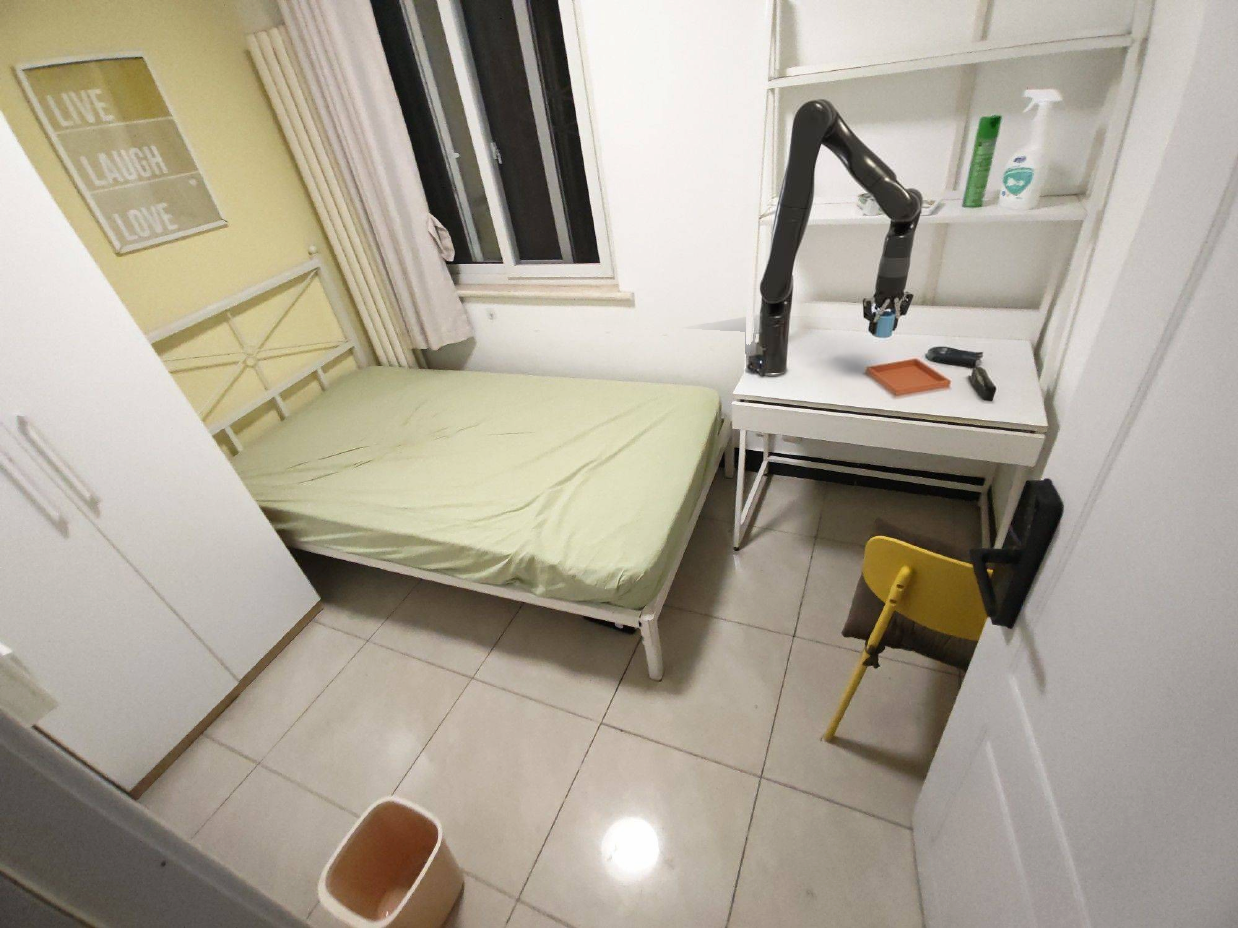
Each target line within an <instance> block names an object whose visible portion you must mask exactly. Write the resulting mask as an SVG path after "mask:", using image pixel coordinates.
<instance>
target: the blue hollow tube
mask: <svg viewBox="0 0 1238 928" xmlns="http://www.w3.org/2000/svg"><path fill="white" fill-rule="evenodd" d="M894 320H895V313H893V312H891V310H884V312H883V314H882V315H880V317H879V319H878V320H877V322H878V324H877V329H876V334H871V336H873V337H875V338H878V339H884V338H885V339H887V338H890V337H891V336H892V335H893V331H892V330H893V325H894Z"/></svg>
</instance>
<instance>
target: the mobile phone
mask: <svg viewBox="0 0 1238 928" xmlns="http://www.w3.org/2000/svg"><path fill="white" fill-rule="evenodd" d="M967 378H968V380H969V381H970V382H971V385H972V386H973V387H974V389H975V391H976V393H977V395H978V397H980V399H981V400H983V401H984V402H993V400H994V398H995V394H996V391H997V386H996V385H995V384H994V382H993V381H992V380H991V378H990V377H989V374H988V371H987V370H986V369H985V368H983V367H981V366H977V367H975V368H974V367H972V371H971V375H967Z"/></svg>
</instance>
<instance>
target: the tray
mask: <svg viewBox="0 0 1238 928" xmlns="http://www.w3.org/2000/svg"><path fill="white" fill-rule="evenodd" d="M865 374H867V376H869V377H871V378H872V379H873V380H874V381H875V382H877V383H878V384H879V385H881V386H882V387H883V388H885V390H886V391H888V392H889V393H891V394H892V395H893V396H894V397H901V396H906V395H914V394H917V393H923V392H924V393H925V392H930V391H936V390H940V389H946V388H950V385H951V382H952V380H951V379H949V378H947V377H946V376H945V375H943V374H942V373H940V372H938V371H937V370H935V369H933V368H932V367H931V366H930V365H928V364H926V363H924V362H923V361H921V360H920V359H919V358H910V359H905V360H899V361H898V360H897V361H894V362H893V361H892V362H887V363H880V364H876V365H871V366H866V370H865Z"/></svg>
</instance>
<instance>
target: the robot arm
mask: <svg viewBox="0 0 1238 928" xmlns="http://www.w3.org/2000/svg"><path fill="white" fill-rule="evenodd" d="M790 134H791V136H790V143H789V152H788V158H787V162H786V163H787V164H786V169H785V171H784V175H783V179H782V183H781V188H780V191H779V196H778V199H777V204H776V208H775V212H774V213H775V214H774V218H773V226H772V231H771V232H772V233H771V241H770V248H769V254H768V259H767V262H766V266H765V269H764V272H763V274H762V278H761V280H760V283H759V293H760V296H761V298H760V299H761V300H760V308H759V309H760V310H759V318H758V319H759V321H758V341H757V342H756V343H755V354H753V355H748V361H747V362H748V363H747V365H746V368H747V370H748V371H750V372H754V371H756V372H757V373H758V374H759V375H760V377H779V376H782V375H784V374H786V372H787V367H788V364H787V363H788V351H789V350H788V349H789V339H790V338H789V337H790V324H791V312H792V307H793V306H792V305H793V295H794V294H793V293H794V275H793V274H794V273H793V272H794V267H795V262H796V257H797V255H798V251H799V249H800V247H801V244H802V242H803V238H804V236H805V232H806V230H807V226H808V224H809V220H810V216H811V213H812V209H813V203H814V199H815V174H816V173H815V172H816V166H817V165H816V164H817V162H818V161H817V160H818V156H819V153H820V150H821V147H822V146H823V147H825V148H826V149H828V150H829V151H830V152H831V153H832V154H834V156H835V157H836V158H837V159H838V160H839V161H840V162H841V164H842V166H843V167H844V168H845V170H846V171H847V173H848V175H850V177H851V178H852V179H853V180H854V182H856V184H858V186H860V188H862V190H864V191H865V192H866V193H867V194H868V195H869V196H871V197H872V198H873V200H874V201H875V203H876V204H877V206H878V207H879V208H880V210H881V211H882V212H883V214H884V215H885V216H886V217H887V218H888V219H889V220H890V223H889V228H888V230H887V232H886V234H885V236H884V240H883V246H882V251H881V255H880V260H879V263H878V268H877V274H876V280H875V286H874V289H875V292H874V294H873V296H872V297H870V298H866V297H865V298H863V299H862V314H863V316H862V317H863V319H865V320H867V321H868V322H869V323H868V328H867V331H868V332H869V334H871V335H872V334H876V329H877V324H878V322H877V320H878V319H879V317H880V315H882V314H883V312H884V311H888V310H889V311H890V312H893V313H895V320H894V325H893V330H892V332H895V331H896V329H897V327H898V323H899V320H900V318H901V317H902V316H906V315H907V314H908V311H909V308H910V306H911V304H912V301H913V299H914V294H913V293H911V292H909V291H905V289H906V285H907V282H908V276H909V273H910V266H911V258H912V252H913V246H914V241H915V235H916V230H917V227H918V225H919V221H920V218H921V213H922V210H923V205H924V197H923V194H922V193H921V192H920V190H919V189H917V188H914V187H913V188H911V187H909V188H906V187H904V185H903V184H901V183H900V181H899V180H898V177H897V174H896V173H895V171H894V170H893V169H892V168H891V167H890V166H889V165H888V164H887V163H885V161H883V160H882V158H880V157H879V156H878V155H877V154H876V153H875V152H873V150H871V148H869V147H868V146H867V145H866V144H865V143H864V142H863V141H862V140H861V139H860V138H859V137H858V136H857V134H856V133H854V131H853V130H852V129H851V128H850V127H849V125H848V124H847V123H846V122H845V120H844V118H843V117H842V115H841V114H840V113H839V111H838V110H837V109H836V108H835V105H834V104H833V103H832V102H831V101H830V100H829V99H826V98H817V99H811V100H808V101H806V102H804V103H803V104H802V105H801V106H800V107H799V108H798V109H797V110H796V112H795V114H794V116H793V121H792V126H791V133H790Z"/></svg>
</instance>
